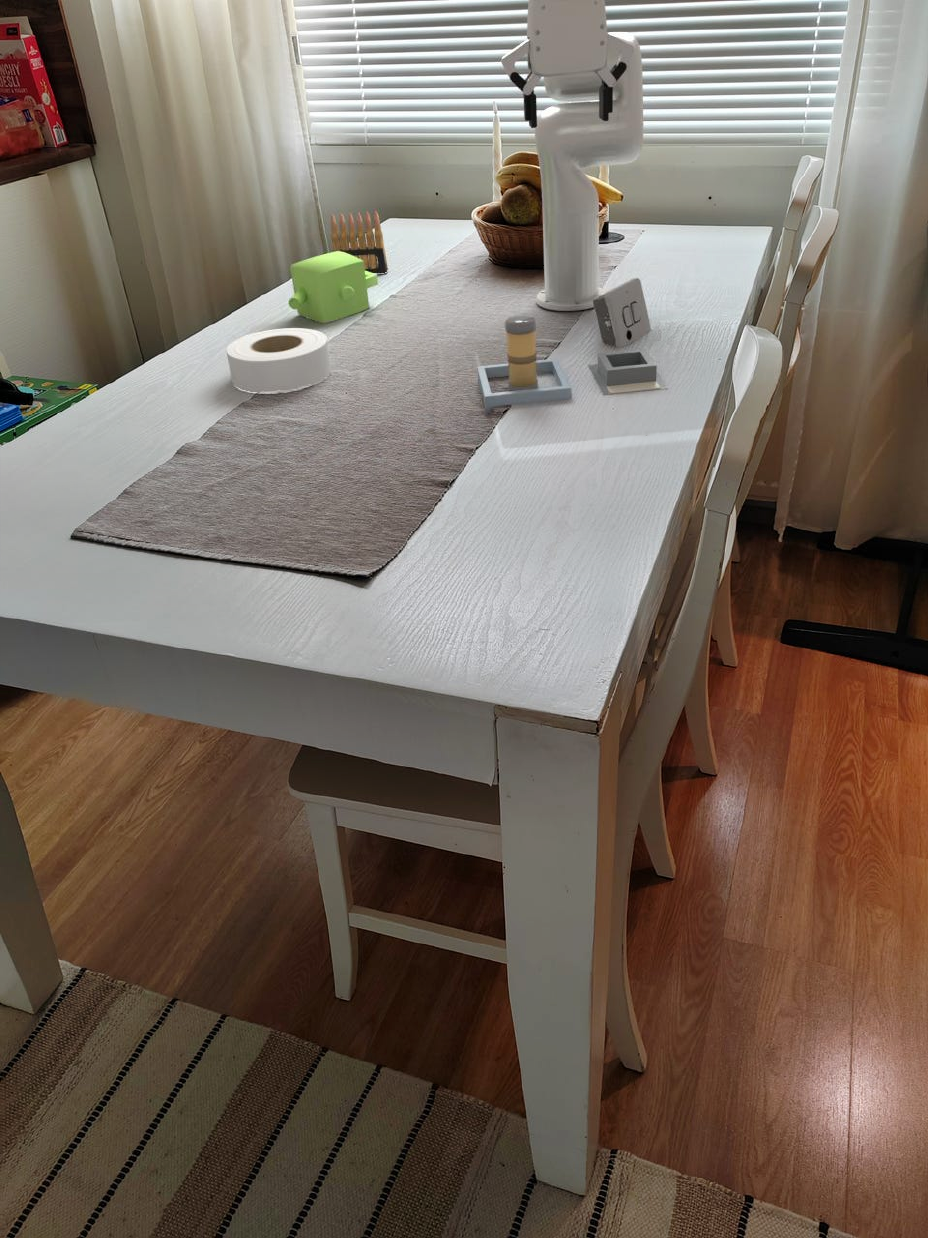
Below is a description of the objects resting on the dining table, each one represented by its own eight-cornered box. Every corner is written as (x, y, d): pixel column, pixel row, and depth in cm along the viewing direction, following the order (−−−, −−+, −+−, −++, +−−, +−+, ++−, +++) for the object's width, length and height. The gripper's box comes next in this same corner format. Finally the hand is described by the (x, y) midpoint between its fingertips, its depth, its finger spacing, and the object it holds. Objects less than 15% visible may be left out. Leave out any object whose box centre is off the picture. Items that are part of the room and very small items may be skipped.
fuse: (507, 385, 143) (503, 317, 138) (535, 382, 144) (533, 314, 138) (510, 396, 140) (507, 326, 134) (539, 393, 140) (537, 323, 134)
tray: (478, 382, 147) (477, 366, 146) (558, 374, 147) (557, 358, 146) (486, 413, 137) (484, 396, 136) (571, 404, 137) (571, 387, 136)
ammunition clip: (388, 271, 202) (381, 209, 195) (386, 273, 201) (379, 211, 194) (337, 274, 203) (328, 212, 197) (335, 276, 202) (326, 214, 195)
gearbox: (306, 335, 173) (297, 281, 168) (277, 322, 180) (267, 269, 174) (388, 307, 182) (382, 255, 176) (357, 295, 188) (351, 245, 183)
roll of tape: (281, 354, 165) (275, 321, 162) (352, 368, 157) (347, 333, 154) (211, 386, 155) (203, 351, 152) (284, 402, 147) (277, 366, 144)
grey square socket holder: (587, 371, 147) (587, 348, 145) (647, 365, 148) (648, 342, 146) (603, 401, 137) (603, 377, 135) (667, 395, 138) (668, 370, 136)
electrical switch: (622, 354, 152) (618, 293, 148) (593, 352, 156) (588, 292, 151) (652, 336, 158) (649, 277, 153) (624, 334, 161) (621, 276, 157)
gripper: (628, -36, 126) (626, 112, 136) (494, -23, 126) (501, 124, 136) (641, -35, 120) (638, 121, 130) (500, -22, 120) (507, 133, 130)
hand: (568, 122), depth 133 cm, fingers open, 9 cm apart
